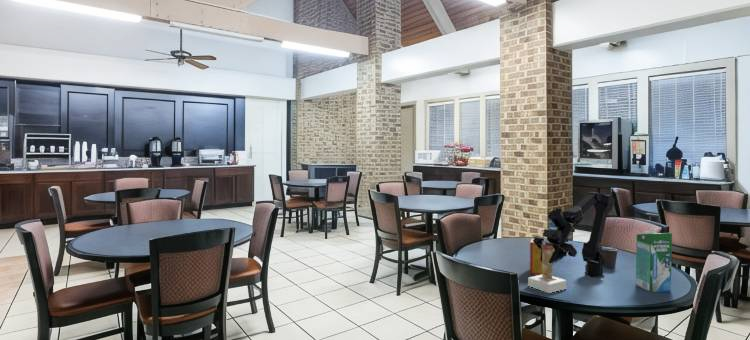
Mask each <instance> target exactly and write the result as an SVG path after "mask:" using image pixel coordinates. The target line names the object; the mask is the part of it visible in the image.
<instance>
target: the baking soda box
mask: <svg viewBox="0 0 750 340" xmlns="http://www.w3.org/2000/svg"><path fill="white" fill-rule="evenodd" d="M543 239H544V238H543ZM533 240H534V238H531V239H530V241H529V242H530V246H529V254H530V255H529V258H530V259H529V265H530V266H529V270H530V272H529V274H530V275H532V274H538V275H541V274H542V261H541V260H540V258H541V249H540V248H538V247H537V246H536V244H535V243H534V242H533ZM544 240H545V241H546V239H544Z"/></svg>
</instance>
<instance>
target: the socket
mask: <svg viewBox="0 0 750 340" xmlns="http://www.w3.org/2000/svg"><path fill="white" fill-rule="evenodd" d="M528 286H530V287H529V288H531V287H533V288H532V289H534V288H536V289H539V290H541V291H540V292H542V291H545V292H548V293H552V292H555V293H557V292H556V291H559V292H561V291H560V290H562V291H564V289H566V290H567V279H563V278H561V277H557V276H553V275H552V279H546V278H543V277H542V274H541V275H533V276H529V277H528V278H527V287H528ZM536 289H535V290H536ZM539 290H538V291H539ZM545 292H544V293H545ZM548 293H547V294H548ZM552 294H553V293H552Z"/></svg>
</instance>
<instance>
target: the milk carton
mask: <svg viewBox="0 0 750 340" xmlns="http://www.w3.org/2000/svg"><path fill="white" fill-rule="evenodd" d="M672 245H673V233H672V232H663V233H662V232H661V233H660V232H659V233H657V230H647V231H646V230H645V233H638V234H636V254H635V255H636V259H635V260H636V263H635V286H637V287H639V288H641V289H643V290H644V291H645V290H646V291H647V292H651V293H657V292H660V293H664V292H665V293H666V292H671V291H672V257H673V256H672V253H673V252H672V251H673V250H672V247H673V246H672Z"/></svg>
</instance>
